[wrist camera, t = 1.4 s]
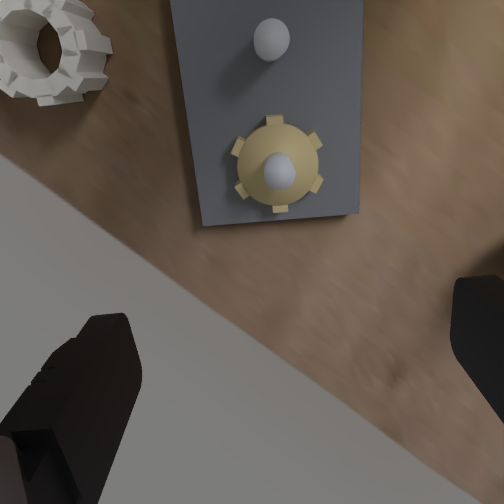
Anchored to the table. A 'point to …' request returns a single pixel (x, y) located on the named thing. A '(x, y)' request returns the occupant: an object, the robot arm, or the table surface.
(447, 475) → the table surface
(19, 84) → the ivory gear
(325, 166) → the gear board
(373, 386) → the table surface
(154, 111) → the table surface
